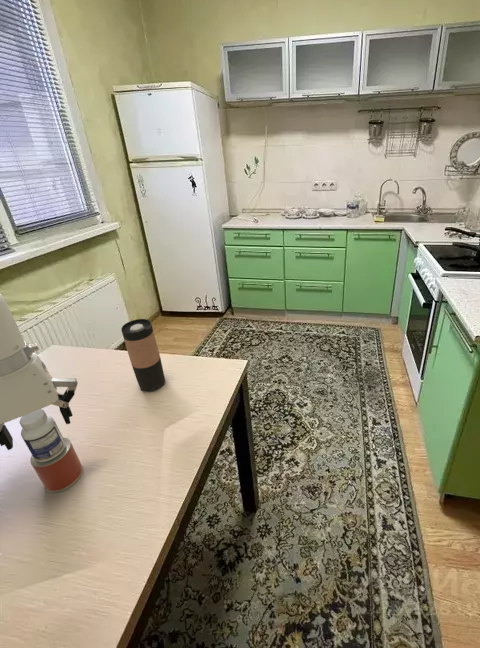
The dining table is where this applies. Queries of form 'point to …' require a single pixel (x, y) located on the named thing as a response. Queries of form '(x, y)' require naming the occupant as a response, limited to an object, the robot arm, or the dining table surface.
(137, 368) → the travel mug
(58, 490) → the tin can
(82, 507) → the dining table surface
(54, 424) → the pill bottle
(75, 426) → the dining table surface
